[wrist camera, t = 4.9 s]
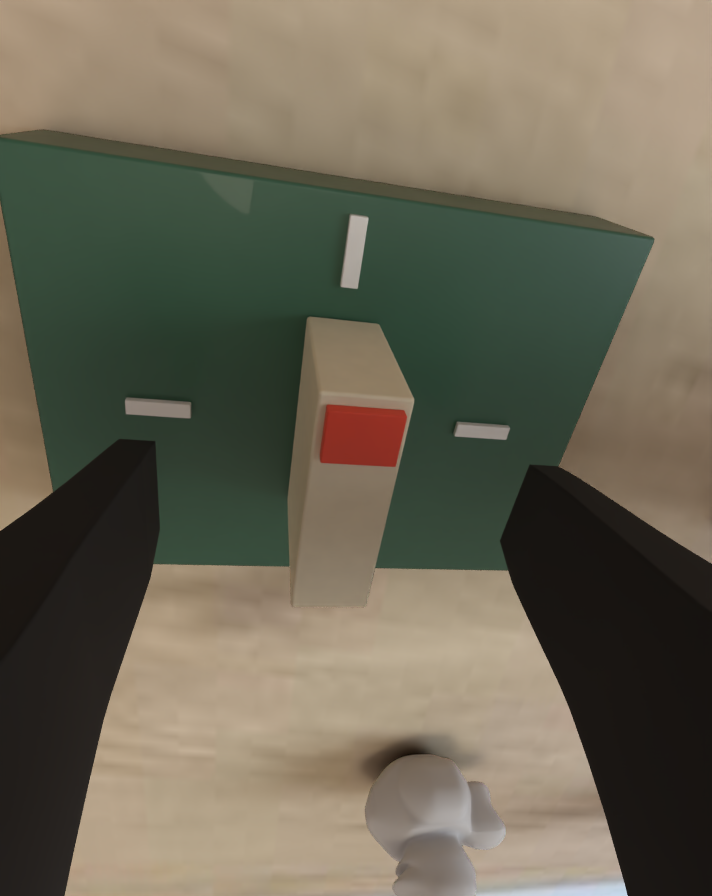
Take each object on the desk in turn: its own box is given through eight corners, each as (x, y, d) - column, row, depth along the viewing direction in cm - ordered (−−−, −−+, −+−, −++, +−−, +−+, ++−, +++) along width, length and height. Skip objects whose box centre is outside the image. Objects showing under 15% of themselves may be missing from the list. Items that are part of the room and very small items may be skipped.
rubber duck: (369, 735, 25) (403, 959, 19) (497, 731, 27) (571, 939, 20) (351, 792, 28) (375, 1005, 22) (468, 786, 30) (524, 985, 23)
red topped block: (347, 502, 14) (368, 618, 11) (287, 500, 14) (290, 618, 11) (379, 322, 12) (419, 406, 8) (307, 314, 11) (319, 399, 8)
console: (598, 217, 14) (662, 239, 11) (488, 519, 19) (516, 575, 17) (39, 128, 11) (-19, 135, 9) (91, 504, 16) (63, 568, 14)
